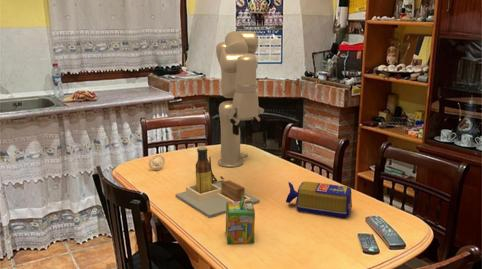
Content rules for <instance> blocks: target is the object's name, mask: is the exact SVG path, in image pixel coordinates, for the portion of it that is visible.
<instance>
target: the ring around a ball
mask: <svg viewBox="0 0 482 269" xmlns="http://www.w3.org/2000/svg"><path fill="white" fill-rule="evenodd" d="M165 162H166V161H165V157H164V156H163V155H162V154H159V153H156V154H153V155H151V156H150V158H149V159H148V166H149V168H150V169H151V170H153V171H158V170H161V169H162V168H164V166H165ZM153 166H154V167H153Z"/></svg>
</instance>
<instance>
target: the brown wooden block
mask: <svg viewBox="0 0 482 269" xmlns="http://www.w3.org/2000/svg"><path fill="white" fill-rule="evenodd" d="M223 181H224V182H221V189H222V195H224V196H226V197H227V198H229V199H231V200H233V201H235V202H238V201H241V198H242V195H243V197H244V192H245V187H244V186H243V185H240V184H238V183H236V182H234V181H233V180H230V179H229V180H223ZM245 193H246V192H245Z"/></svg>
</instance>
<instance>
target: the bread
mask: <svg viewBox="0 0 482 269" xmlns="http://www.w3.org/2000/svg"><path fill="white" fill-rule="evenodd" d="M287 183H288V187H289V193H288V195H287V196H286V200H285V203H288V204H290V203H291V202H293V201H294V200H295V199H296V200H295V206H296V210H297V212H301V213H306V214H307V213H308V214H315V215H318V216H319V215H320V216H326V217H333V218H338V217H339V218H338V219H345V218H346V219H347V218H348V217H349V216H350V213H351V211H352V207H353V201H352V188H351V187H348V186H344V185H338V184H337V185H336V184H331V183H330V184H329V183H322V182H315V181H313V182H312V181H302V182H301V183H300V184H299V186H298V188H297V190H295V187H294V184H292V183H291V182H290V181H288V182H287Z"/></svg>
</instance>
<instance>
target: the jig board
mask: <svg viewBox="0 0 482 269" xmlns="http://www.w3.org/2000/svg"><path fill="white" fill-rule="evenodd" d="M175 198H176V199H178V200H179V201H182V202H183V203H184V204H186V205H188V206H190V208H193V210H196V211H198V212H199V213H200V214H202V215H204V216H205V217H207V218H208V219H211V218H215V217H218V216H221V215H224V214H225V215H226V202H235V201H233V200H231V199H229V198H227V197H226V196H224V195H222V189H221V182H220V183H216V184H212V191H209V192H206V193H202V194H200V193H198V192H197V186H196V184H192V185H188V186H186V187H185V191H182V192H179V193H175ZM244 201H252V203H253V205H255V204H259V203H260V199H259V198H257V197H256V196H255V197H254V196H253V195H252V194H249V193H247V192H244ZM238 202H240V201H238Z"/></svg>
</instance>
